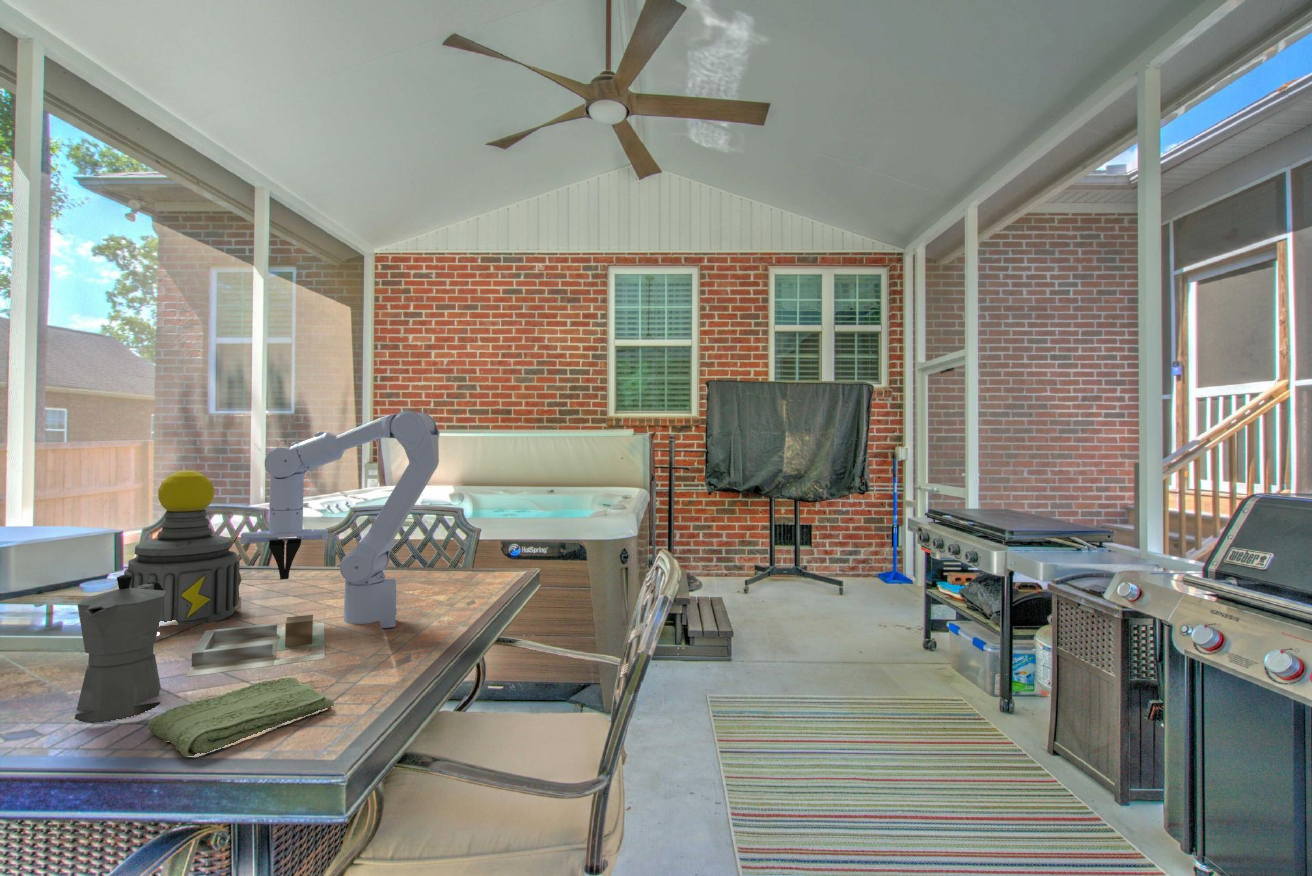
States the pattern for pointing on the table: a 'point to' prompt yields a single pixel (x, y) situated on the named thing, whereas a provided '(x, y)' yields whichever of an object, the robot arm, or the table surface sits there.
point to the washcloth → (236, 715)
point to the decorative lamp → (188, 556)
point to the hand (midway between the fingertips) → (284, 578)
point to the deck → (248, 648)
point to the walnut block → (299, 630)
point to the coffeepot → (120, 651)
